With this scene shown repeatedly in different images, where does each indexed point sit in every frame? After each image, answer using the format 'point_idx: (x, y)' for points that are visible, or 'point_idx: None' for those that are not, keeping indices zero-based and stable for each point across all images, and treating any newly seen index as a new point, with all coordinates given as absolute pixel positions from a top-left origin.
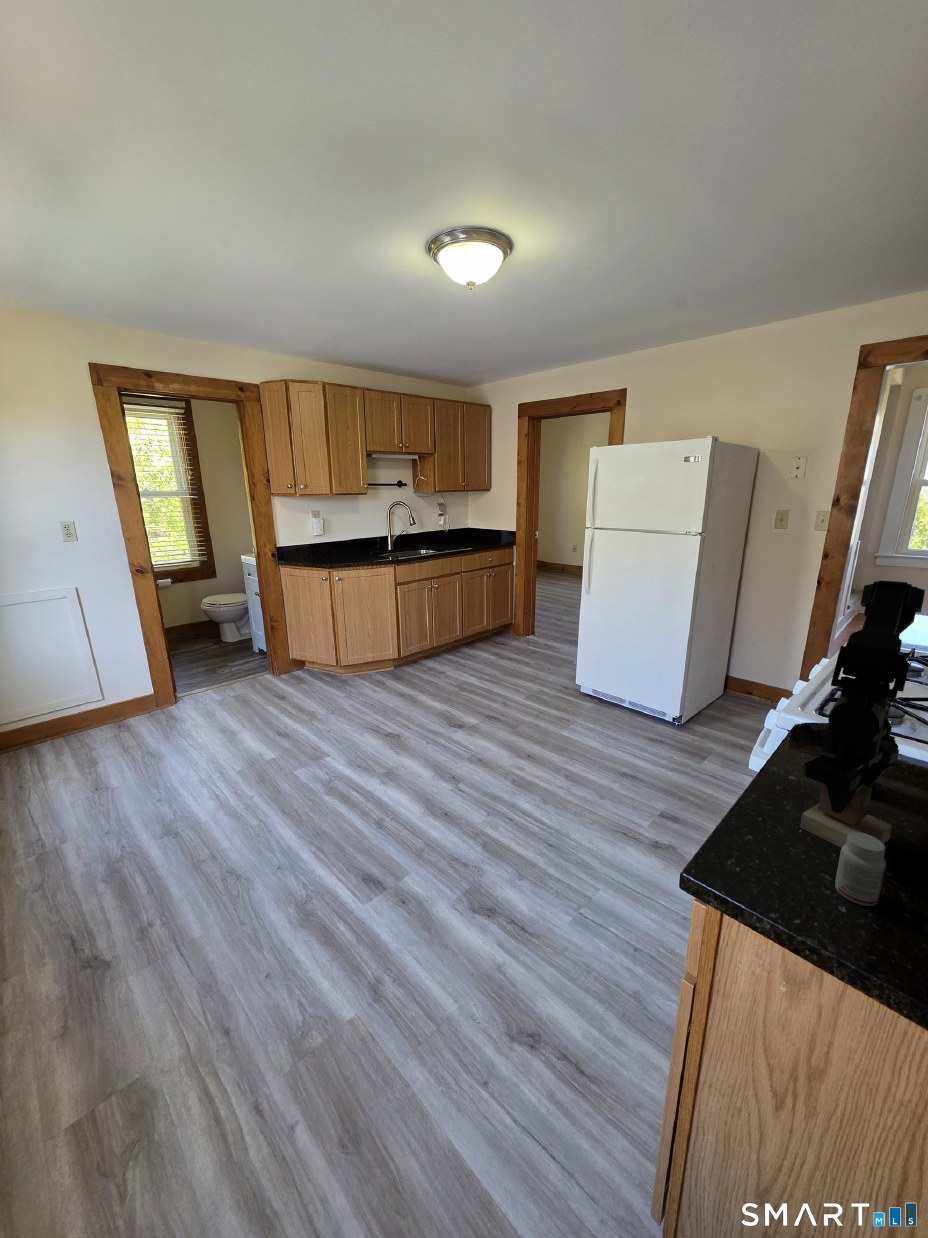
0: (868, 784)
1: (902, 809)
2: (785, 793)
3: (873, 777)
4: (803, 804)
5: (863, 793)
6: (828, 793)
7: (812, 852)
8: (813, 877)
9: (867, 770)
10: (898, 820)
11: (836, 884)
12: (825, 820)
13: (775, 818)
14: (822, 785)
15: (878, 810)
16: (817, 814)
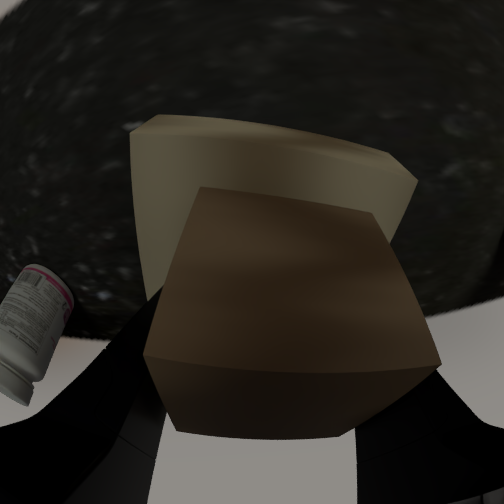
0: (357, 436)
1: (475, 290)
2: (413, 7)
3: (362, 476)
4: (376, 74)
5: (243, 438)
6: (107, 347)
7: (66, 199)
8: (12, 232)
9: (384, 493)
10: (430, 296)
11: (19, 274)
12: (167, 221)
13: (138, 30)
14: (152, 331)
15: (459, 263)
16: (190, 182)
